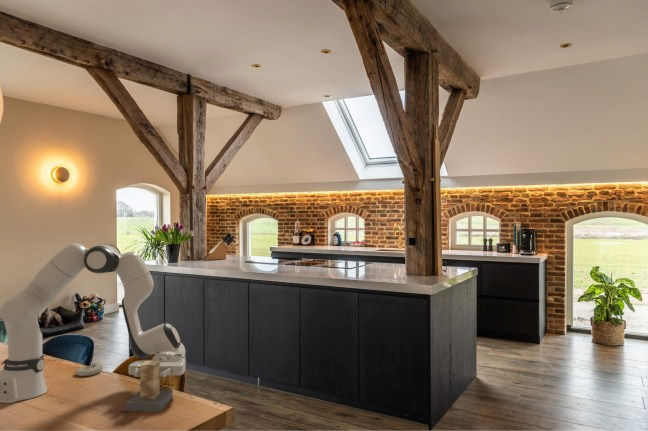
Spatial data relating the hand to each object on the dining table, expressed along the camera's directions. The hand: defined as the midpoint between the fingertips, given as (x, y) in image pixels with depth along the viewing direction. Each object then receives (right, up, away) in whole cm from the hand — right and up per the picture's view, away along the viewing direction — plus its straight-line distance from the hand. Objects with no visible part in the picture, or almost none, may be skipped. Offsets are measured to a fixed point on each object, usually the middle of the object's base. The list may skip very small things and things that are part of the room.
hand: (149, 374), depth 167 cm
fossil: (-39, -12, +36) cm, 55 cm away
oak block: (0, -8, +1) cm, 8 cm away
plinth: (0, -11, +1) cm, 11 cm away
